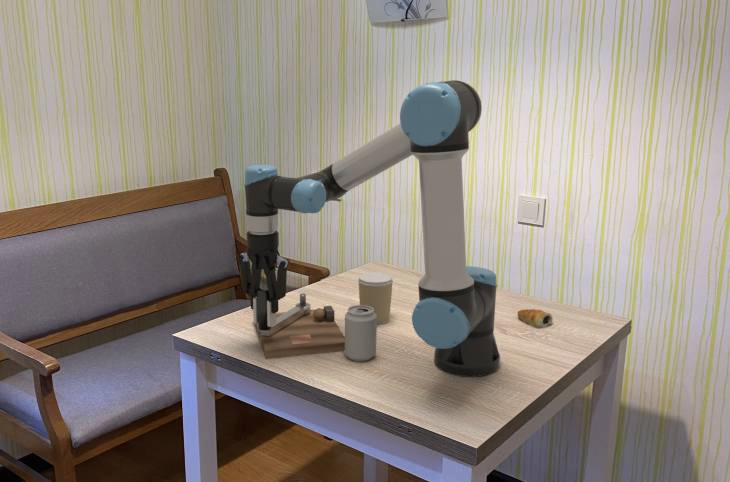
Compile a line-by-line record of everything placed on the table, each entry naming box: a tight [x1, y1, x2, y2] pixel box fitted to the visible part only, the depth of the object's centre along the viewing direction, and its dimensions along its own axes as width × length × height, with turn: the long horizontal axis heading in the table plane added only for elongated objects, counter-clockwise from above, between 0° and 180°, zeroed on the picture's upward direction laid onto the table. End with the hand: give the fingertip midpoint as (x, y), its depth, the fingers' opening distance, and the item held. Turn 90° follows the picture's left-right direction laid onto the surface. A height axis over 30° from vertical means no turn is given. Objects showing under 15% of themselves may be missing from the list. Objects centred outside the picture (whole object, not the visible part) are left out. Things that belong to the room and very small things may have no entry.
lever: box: [257, 286, 312, 336], centre depth 182 cm, size 22×4×12 cm, turn 154°
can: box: [344, 304, 377, 362], centre depth 168 cm, size 8×8×12 cm
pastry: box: [517, 308, 553, 329], centre depth 191 cm, size 9×7×4 cm
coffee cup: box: [357, 271, 394, 325], centre depth 191 cm, size 9×9×12 cm
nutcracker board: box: [254, 305, 345, 360], centre depth 181 cm, size 24×20×5 cm
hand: (264, 323), depth 174 cm, fingers closed on lever, 3 cm apart
